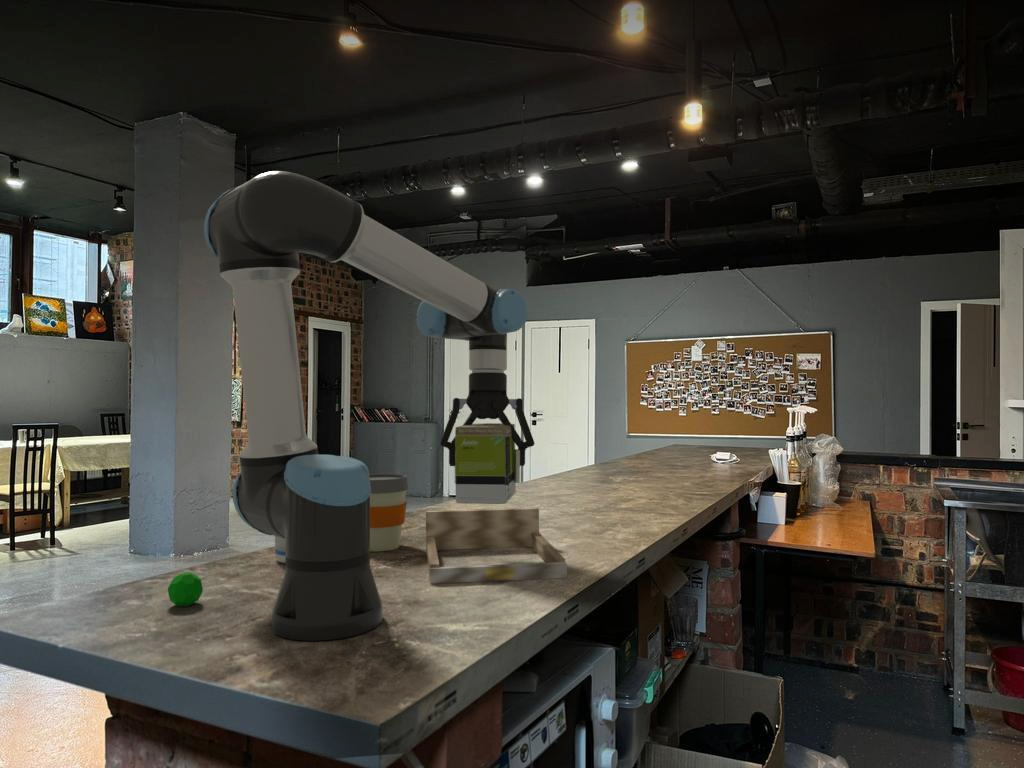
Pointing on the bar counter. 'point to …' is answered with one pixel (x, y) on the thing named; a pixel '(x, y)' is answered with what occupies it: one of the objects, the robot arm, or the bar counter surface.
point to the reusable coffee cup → (387, 510)
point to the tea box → (484, 463)
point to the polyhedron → (185, 589)
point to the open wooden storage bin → (489, 544)
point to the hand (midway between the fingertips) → (487, 482)
